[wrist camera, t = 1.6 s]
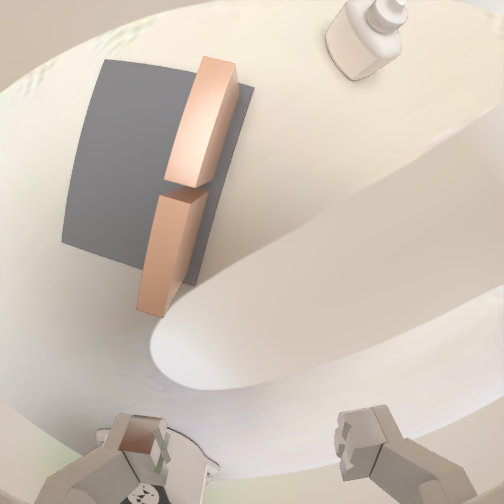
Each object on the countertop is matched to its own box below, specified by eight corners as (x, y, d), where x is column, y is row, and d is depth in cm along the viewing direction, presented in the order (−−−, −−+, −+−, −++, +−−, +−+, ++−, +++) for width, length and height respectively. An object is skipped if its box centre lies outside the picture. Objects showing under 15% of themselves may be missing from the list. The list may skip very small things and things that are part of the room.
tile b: (212, 179, 27) (194, 188, 18) (189, 173, 27) (162, 178, 18) (239, 94, 25) (235, 63, 16) (217, 88, 25) (202, 55, 16)
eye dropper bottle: (324, 77, 24) (370, 27, 13) (324, 26, 23) (363, -40, 11) (368, 84, 25) (435, 47, 13) (367, 34, 23) (424, -20, 12)
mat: (195, 284, 30) (194, 285, 29) (62, 241, 28) (61, 242, 28) (254, 88, 25) (254, 87, 25) (106, 60, 23) (104, 59, 23)
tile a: (187, 273, 29) (163, 318, 20) (166, 267, 29) (134, 308, 20) (209, 190, 27) (190, 203, 18) (186, 184, 27) (158, 194, 18)
